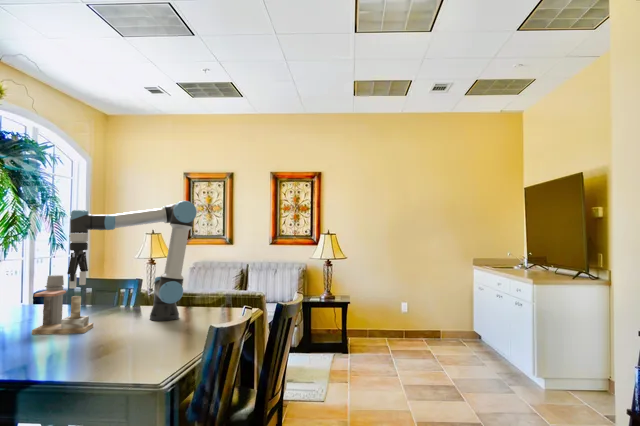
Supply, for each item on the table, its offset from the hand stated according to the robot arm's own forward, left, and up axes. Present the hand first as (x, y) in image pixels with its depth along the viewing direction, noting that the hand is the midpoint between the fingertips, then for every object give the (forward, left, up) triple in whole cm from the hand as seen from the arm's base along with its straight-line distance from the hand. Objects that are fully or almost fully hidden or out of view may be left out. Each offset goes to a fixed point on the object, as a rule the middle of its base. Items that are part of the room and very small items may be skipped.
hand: (77, 286), depth 205 cm
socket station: (+5, 0, -21) cm, 21 cm away
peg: (0, 0, -19) cm, 19 cm away
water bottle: (+15, -11, -21) cm, 28 cm away
